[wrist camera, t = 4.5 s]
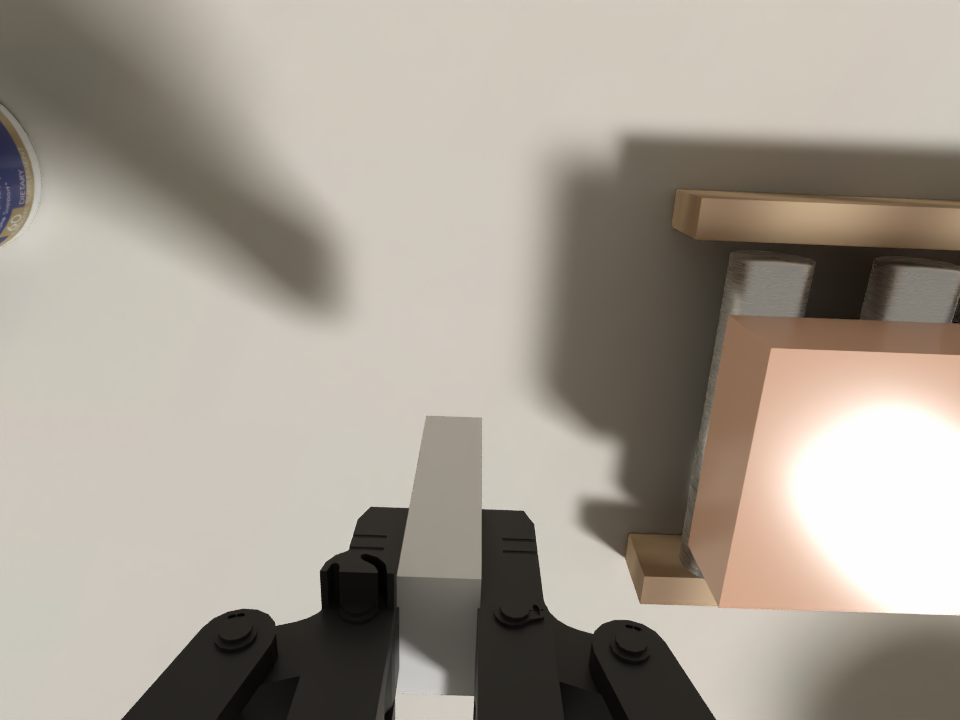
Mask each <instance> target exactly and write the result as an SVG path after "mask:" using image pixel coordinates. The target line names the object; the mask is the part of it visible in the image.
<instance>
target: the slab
mask: <svg viewBox="0 0 960 720" xmlns="http://www.w3.org/2000/svg"><path fill="white" fill-rule="evenodd" d="M688 546H689V548H690V550H691V552H692V554H693V556H694V558H695V561H696V563H697V565H698V567H699V569H700V571H701V573H702V575H703V577H704V579H705V581H706V583H707V585H708V587H709V589H710V591H711V593H712V595H713V597H714V599H715V601H716V603H717V605H718V607H719V608H745V609H777V610H809V611H841V612H873V613H905V614H937V615H960V324H957V323H928V322H905V321H878V320H852V319H826V318H800V317H773V316H748V315H728V320H727V326H726V331H725V337H724V343H723V349H722V354H721V360H720V366H719V371H718V377H717V383H716V388H715V394H714V400H713V406H712V411H711V417H710V423H709V428H708V434H707V440H706V445H705V451H704V457H703V463H702V468H701V474H700V480H699V485H698V491H697V497H696V502H695V508H694V514H693V520H692V525H691V531H690V537H689V542H688Z"/></svg>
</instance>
